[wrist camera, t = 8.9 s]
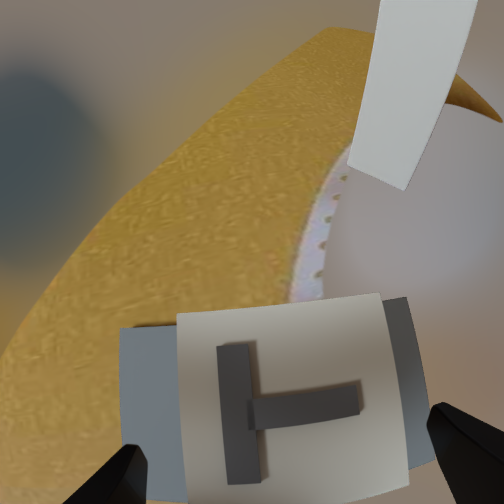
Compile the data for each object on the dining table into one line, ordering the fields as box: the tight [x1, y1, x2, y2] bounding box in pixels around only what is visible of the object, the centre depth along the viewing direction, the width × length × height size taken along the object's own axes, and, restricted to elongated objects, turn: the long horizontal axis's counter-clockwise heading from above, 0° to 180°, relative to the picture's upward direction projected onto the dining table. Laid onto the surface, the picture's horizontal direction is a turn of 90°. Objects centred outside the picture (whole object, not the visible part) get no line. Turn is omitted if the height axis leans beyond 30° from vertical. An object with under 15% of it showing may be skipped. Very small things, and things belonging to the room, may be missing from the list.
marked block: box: [177, 292, 409, 504], centre depth 12 cm, size 5×5×13 cm
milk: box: [347, 0, 478, 191], centre depth 18 cm, size 6×6×22 cm
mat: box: [119, 297, 435, 503], centre depth 18 cm, size 12×20×1 cm, turn 96°
